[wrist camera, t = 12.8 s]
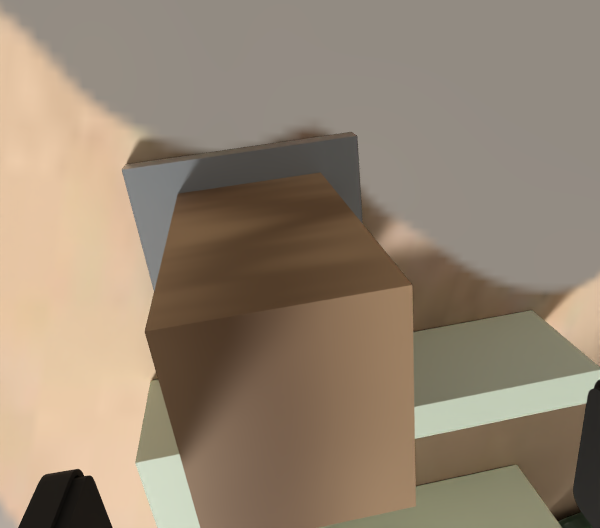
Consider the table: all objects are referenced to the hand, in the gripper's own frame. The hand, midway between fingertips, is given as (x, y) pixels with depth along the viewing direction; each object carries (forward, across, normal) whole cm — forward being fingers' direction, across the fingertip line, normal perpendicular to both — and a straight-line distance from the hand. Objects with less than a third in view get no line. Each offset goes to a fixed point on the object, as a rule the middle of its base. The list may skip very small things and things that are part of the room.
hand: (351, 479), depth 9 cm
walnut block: (+10, +1, 0) cm, 10 cm away
